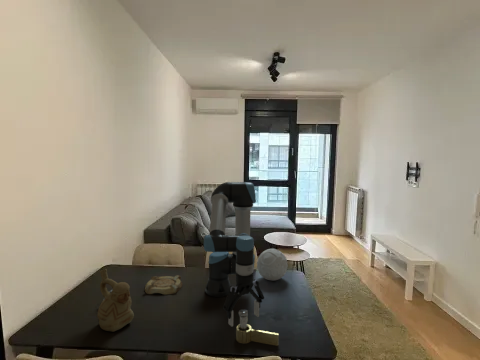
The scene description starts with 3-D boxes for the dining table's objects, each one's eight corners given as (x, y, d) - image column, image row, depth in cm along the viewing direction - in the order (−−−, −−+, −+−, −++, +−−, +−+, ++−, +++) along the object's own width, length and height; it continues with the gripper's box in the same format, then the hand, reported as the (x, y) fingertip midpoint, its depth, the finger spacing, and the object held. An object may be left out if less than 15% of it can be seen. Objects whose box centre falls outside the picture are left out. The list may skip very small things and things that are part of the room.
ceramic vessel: (112, 340, 130) (110, 283, 128) (85, 326, 140) (84, 273, 138) (143, 321, 144) (143, 271, 142) (117, 310, 154) (116, 262, 152)
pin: (237, 338, 132) (236, 311, 131) (244, 334, 134) (244, 308, 133) (242, 342, 129) (242, 315, 128) (250, 339, 131) (249, 312, 130)
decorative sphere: (293, 256, 202) (286, 248, 186) (286, 286, 195) (278, 281, 179) (266, 250, 211) (257, 242, 195) (259, 278, 204) (249, 273, 188)
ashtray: (170, 299, 167) (170, 290, 167) (135, 292, 175) (135, 284, 174) (191, 282, 190) (191, 274, 189) (158, 277, 197) (158, 269, 197)
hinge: (228, 339, 131) (228, 328, 131) (245, 319, 147) (246, 309, 146) (273, 353, 122) (273, 341, 122) (286, 330, 138) (286, 320, 137)
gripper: (224, 282, 119) (223, 333, 121) (272, 269, 133) (271, 315, 135) (214, 275, 125) (214, 324, 127) (262, 264, 139) (261, 308, 141)
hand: (244, 320), depth 131 cm, fingers open, 13 cm apart
